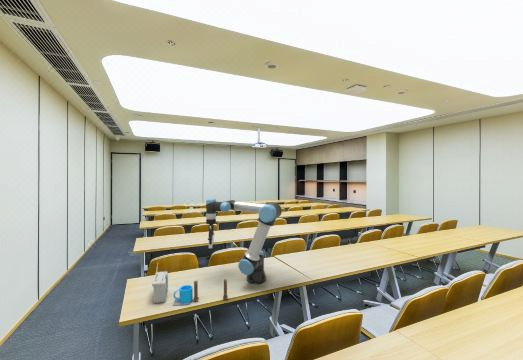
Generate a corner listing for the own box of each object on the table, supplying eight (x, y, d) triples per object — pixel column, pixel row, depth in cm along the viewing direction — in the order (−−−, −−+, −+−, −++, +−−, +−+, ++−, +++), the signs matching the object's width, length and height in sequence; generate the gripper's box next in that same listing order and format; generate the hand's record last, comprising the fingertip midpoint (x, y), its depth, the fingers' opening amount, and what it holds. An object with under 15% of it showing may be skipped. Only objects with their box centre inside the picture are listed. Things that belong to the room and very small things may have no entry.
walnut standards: (227, 297, 166) (227, 278, 166) (227, 300, 162) (227, 280, 162) (194, 299, 164) (193, 280, 163) (193, 302, 160) (193, 282, 159)
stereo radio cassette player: (165, 303, 159) (165, 272, 158) (151, 304, 156) (151, 273, 156) (168, 288, 179) (168, 261, 178) (156, 290, 176) (155, 262, 176)
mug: (193, 296, 166) (193, 284, 166) (191, 302, 158) (191, 290, 158) (174, 298, 164) (174, 286, 164) (172, 304, 156) (172, 291, 156)
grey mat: (191, 297, 166) (191, 296, 166) (189, 304, 156) (189, 304, 156) (176, 298, 165) (176, 297, 165) (172, 305, 155) (172, 305, 155)
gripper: (207, 216, 205) (207, 241, 206) (204, 221, 181) (204, 250, 181) (216, 215, 206) (216, 241, 207) (215, 221, 182) (215, 250, 182)
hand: (211, 245), depth 194 cm, fingers open, 13 cm apart
